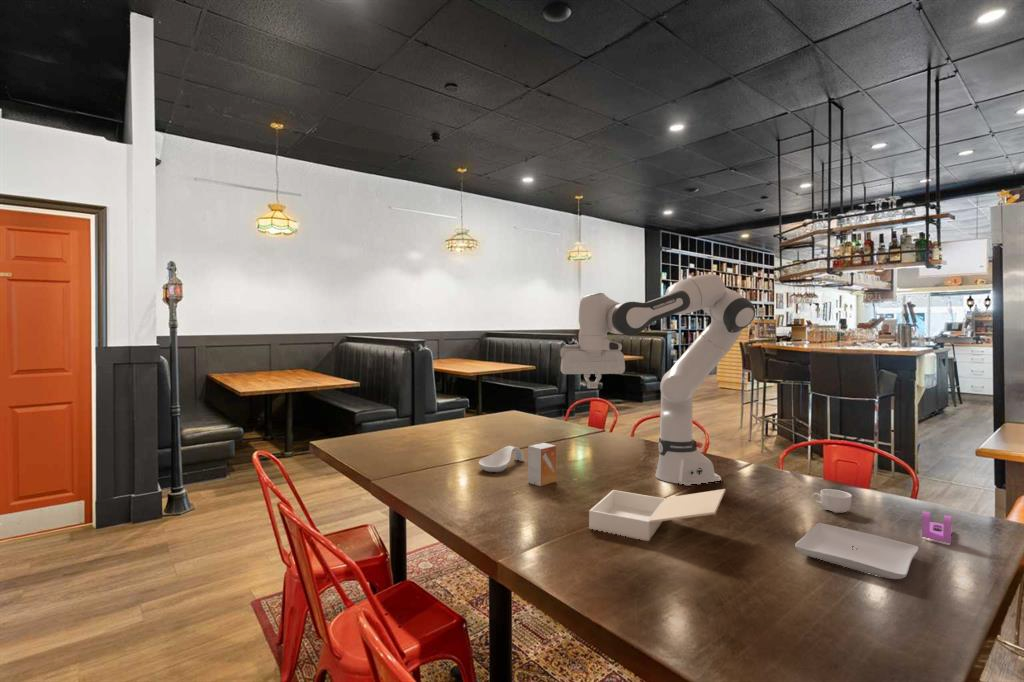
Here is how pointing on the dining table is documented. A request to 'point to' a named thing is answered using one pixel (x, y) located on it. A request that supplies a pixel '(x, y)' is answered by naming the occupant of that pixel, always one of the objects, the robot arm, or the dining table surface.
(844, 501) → the teacup
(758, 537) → the dining table surface
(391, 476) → the dining table surface
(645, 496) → the tray
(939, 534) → the bracket
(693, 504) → the mailer lid
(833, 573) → the dining table surface
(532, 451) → the small box
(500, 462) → the spoon rest
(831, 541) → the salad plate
